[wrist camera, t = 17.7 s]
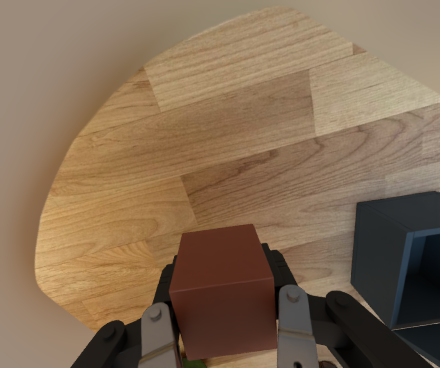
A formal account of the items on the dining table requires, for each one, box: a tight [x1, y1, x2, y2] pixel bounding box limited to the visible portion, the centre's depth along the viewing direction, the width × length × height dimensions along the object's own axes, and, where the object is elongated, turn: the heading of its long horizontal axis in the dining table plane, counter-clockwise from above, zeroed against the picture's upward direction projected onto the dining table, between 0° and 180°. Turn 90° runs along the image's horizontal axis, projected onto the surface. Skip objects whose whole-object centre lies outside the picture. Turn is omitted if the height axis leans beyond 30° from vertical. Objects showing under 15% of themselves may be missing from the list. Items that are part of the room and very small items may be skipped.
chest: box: [351, 191, 440, 330], centre depth 32 cm, size 17×13×9 cm
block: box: [169, 224, 278, 361], centre depth 12 cm, size 5×5×5 cm
